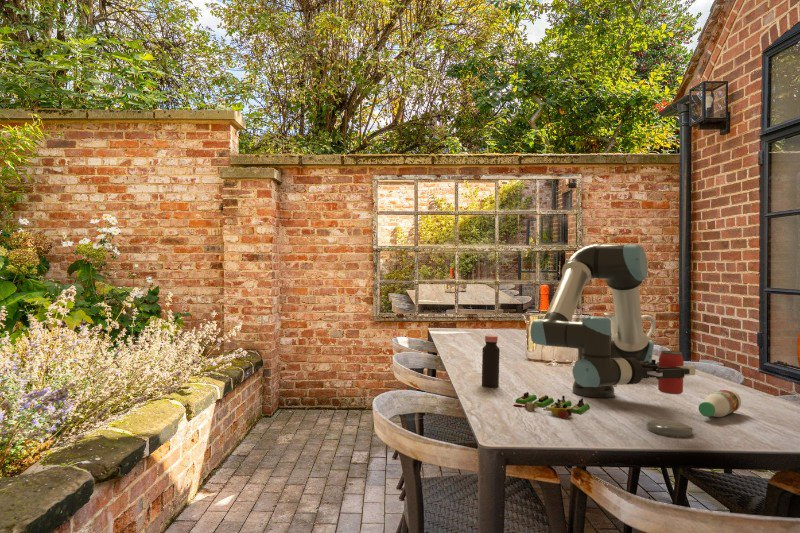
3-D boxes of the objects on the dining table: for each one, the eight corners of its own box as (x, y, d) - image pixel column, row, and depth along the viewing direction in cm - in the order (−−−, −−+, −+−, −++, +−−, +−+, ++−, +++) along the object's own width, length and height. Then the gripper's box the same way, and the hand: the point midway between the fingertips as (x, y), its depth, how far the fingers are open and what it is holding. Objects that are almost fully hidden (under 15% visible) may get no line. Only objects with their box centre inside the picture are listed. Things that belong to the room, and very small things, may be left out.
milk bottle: (730, 416, 183) (706, 426, 171) (711, 398, 188) (687, 407, 175) (747, 402, 179) (724, 412, 167) (728, 384, 184) (704, 392, 171)
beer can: (661, 388, 163) (662, 349, 163) (685, 392, 159) (686, 352, 159) (655, 392, 158) (656, 351, 158) (680, 396, 154) (681, 354, 154)
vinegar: (498, 384, 218) (499, 335, 218) (499, 388, 211) (500, 337, 211) (481, 383, 218) (482, 334, 218) (482, 387, 212) (483, 336, 212)
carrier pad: (649, 434, 155) (649, 429, 155) (645, 423, 166) (645, 418, 166) (696, 439, 151) (696, 434, 151) (688, 427, 162) (688, 423, 162)
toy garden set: (589, 409, 184) (590, 396, 184) (572, 421, 168) (572, 407, 168) (526, 398, 197) (526, 386, 197) (504, 409, 182) (505, 395, 182)
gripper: (599, 377, 162) (657, 374, 170) (650, 392, 143) (712, 387, 151) (599, 352, 162) (658, 350, 170) (650, 364, 143) (713, 361, 151)
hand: (683, 367), depth 161 cm, fingers closed on beer can, 6 cm apart
